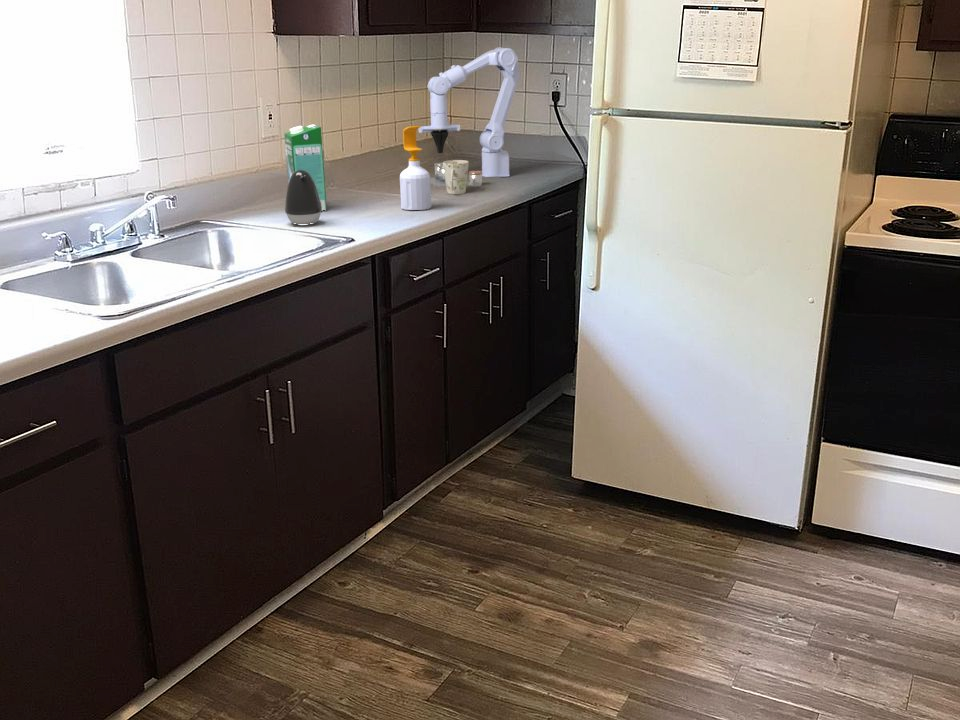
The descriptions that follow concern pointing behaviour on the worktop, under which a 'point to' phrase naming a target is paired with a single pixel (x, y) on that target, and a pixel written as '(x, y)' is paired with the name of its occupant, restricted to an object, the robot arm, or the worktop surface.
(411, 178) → the soap bottle
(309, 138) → the milk carton
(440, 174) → the tin middle
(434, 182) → the slate board
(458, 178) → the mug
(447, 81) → the robot arm
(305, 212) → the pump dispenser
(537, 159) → the worktop surface
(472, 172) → the cylinder
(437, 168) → the tin left
